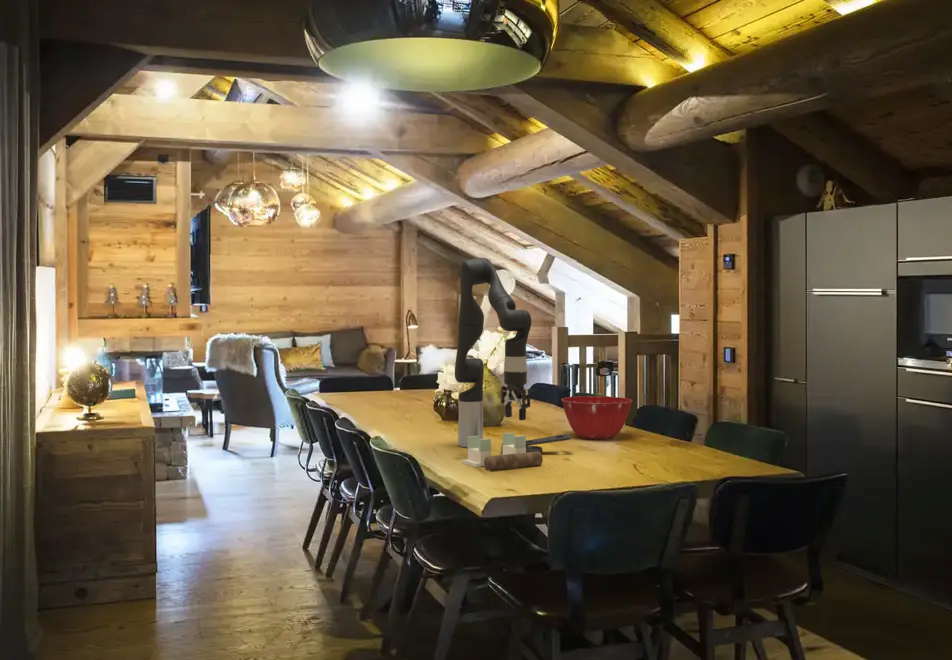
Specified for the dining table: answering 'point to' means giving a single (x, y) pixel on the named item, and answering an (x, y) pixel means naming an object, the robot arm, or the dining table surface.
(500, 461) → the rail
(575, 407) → the mixing bowl
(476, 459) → the white cradle stand
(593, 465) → the dining table surface
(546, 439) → the zipper pull
